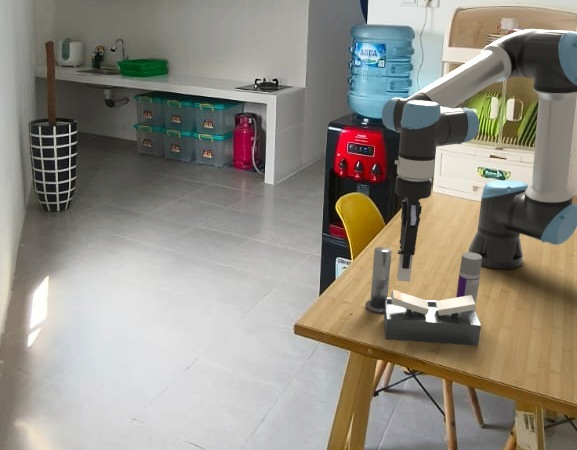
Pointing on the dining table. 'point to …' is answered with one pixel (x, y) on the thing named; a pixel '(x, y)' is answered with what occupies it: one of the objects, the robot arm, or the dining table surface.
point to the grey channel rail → (431, 325)
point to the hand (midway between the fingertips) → (403, 279)
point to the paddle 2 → (455, 305)
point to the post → (379, 280)
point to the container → (469, 275)
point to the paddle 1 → (409, 302)
